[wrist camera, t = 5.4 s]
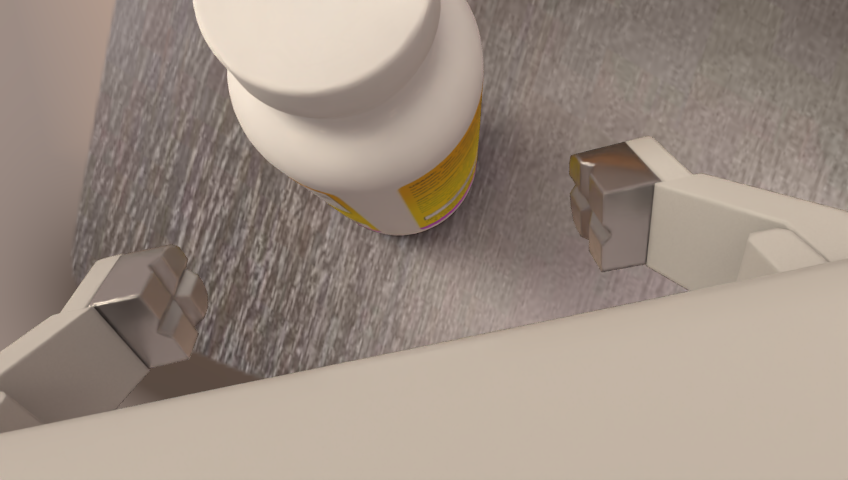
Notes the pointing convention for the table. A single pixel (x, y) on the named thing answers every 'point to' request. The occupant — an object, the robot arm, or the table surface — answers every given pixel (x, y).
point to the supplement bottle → (358, 99)
